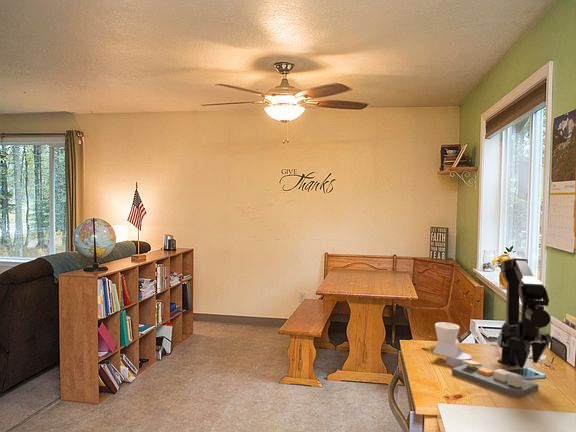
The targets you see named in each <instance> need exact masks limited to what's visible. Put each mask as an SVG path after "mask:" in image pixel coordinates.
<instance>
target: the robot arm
mask: <svg viewBox="0 0 576 432" xmlns="http://www.w3.org/2000/svg"><path fill="white" fill-rule="evenodd" d="M500 265H501V266H500V271H501V273H502V278H503V279H504V281H505V283H506V300H505V301H506V302H505V303H506V310H505V312H506V313H505V322H504V323H503V324H502V326H501V331H500V332H499V334H498V337H497V339H496V340H497V345H498V347H499V348H501V356H500V357H501V358H500V359H498V360H497V362H498V363H501V364H505V365H507V366H510V367H516V366H518V367H519V369H524V367H525V365H526V362H527V360H528V357H529V356H530V353H532V354H531V355H532V356H531V357H532V363H534V364H537V363H538V361H539V360H540V358H541V357H542V355H543V353H544V352H545V350H546V349H547V348H548V346H549V345H550V343H552V335H551V334H550V333H547V332H543V331H540V330H541V329H542V328H545V327H547V326H549V324H550V323H551V316H550V314H549V312H548V311H546V309H545V307H549V303H550V298H549V295H548V291H547V289H546V286H545V285H544V283H542V281H541V280H540V279H538V278H535V277H534V274H533V272H532V269H531V267H530V266H529V261H528V259H527V258H526V257H516V256H515V257H512V258H511V259H507V260H504V261H502V263H501V264H500ZM520 303H521V310H520ZM520 311H521V314H520ZM520 315H521V316H520ZM540 328H541V329H540Z"/></svg>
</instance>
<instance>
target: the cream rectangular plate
mask: <svg viewBox="0 0 576 432" xmlns="http://www.w3.org/2000/svg"><path fill="white" fill-rule="evenodd" d="M462 364H465V365H468V366H471V367H481V365H482V363H480V362H477V361H475V360H472V359H471V360H463V361H462Z"/></svg>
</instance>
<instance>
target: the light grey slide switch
mask: <svg viewBox="0 0 576 432" xmlns="http://www.w3.org/2000/svg"><path fill="white" fill-rule="evenodd" d="M523 379H524V375H521V374H518V373H514V372H511V373H510V374H508V378H507V384H509V385H512V386H515V387H520V386H522V384H523Z"/></svg>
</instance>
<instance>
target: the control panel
mask: <svg viewBox="0 0 576 432" xmlns="http://www.w3.org/2000/svg"><path fill="white" fill-rule="evenodd" d="M482 367H485V368H488V369H491V370H494V371H495V370H497V369H495V368H493V367H489V366H486V365H483V364H481V367H471V366H468V365H462V366H459V367H452V368H451V375H452V376H455V377H456V376H457V377H459V378H462V379H464V380H467V381H469V382H471V383H474V384H476V385H477V384H478V385H480V386H483V387H485V388H488V389H490V390H494V391H497V392H499V393H502V394H504V395H506V396H509V397H512V398H515V399H518V400H519V399H521V398H523V397H526V396H527V395H531V394H533V393H534V392H537V391H539V383H537V382H534V381H530V380H528V379H525V378H523V384H522V386H520V387H515V386H512V385H509V384H507V381H506V382H503V381H500V380H497V379H494V378H493V375H491V376H489V377H488V376H485V375H482V374H479V373H477V369H480V368H482Z"/></svg>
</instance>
